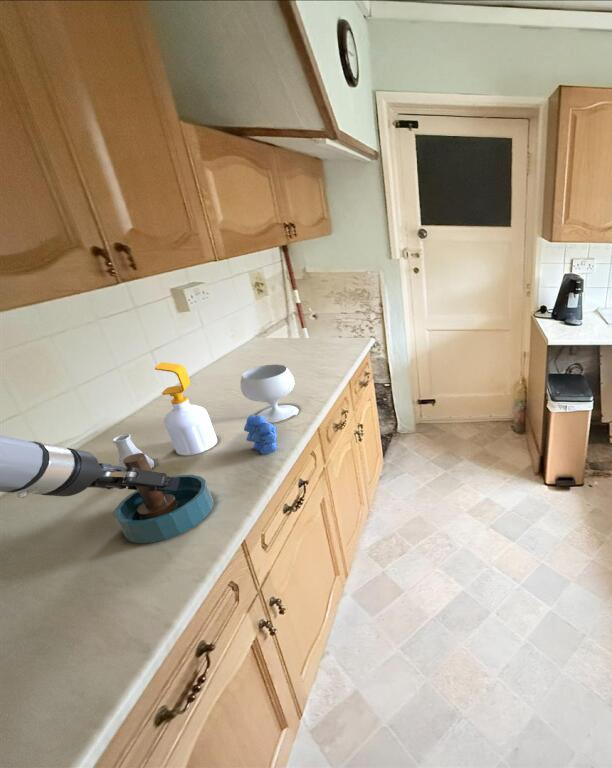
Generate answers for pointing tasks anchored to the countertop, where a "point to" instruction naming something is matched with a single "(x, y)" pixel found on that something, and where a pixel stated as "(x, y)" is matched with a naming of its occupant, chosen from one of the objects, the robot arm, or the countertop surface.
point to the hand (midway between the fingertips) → (166, 484)
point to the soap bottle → (186, 417)
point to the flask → (127, 449)
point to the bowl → (191, 512)
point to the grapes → (261, 434)
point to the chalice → (269, 390)
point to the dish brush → (150, 492)
